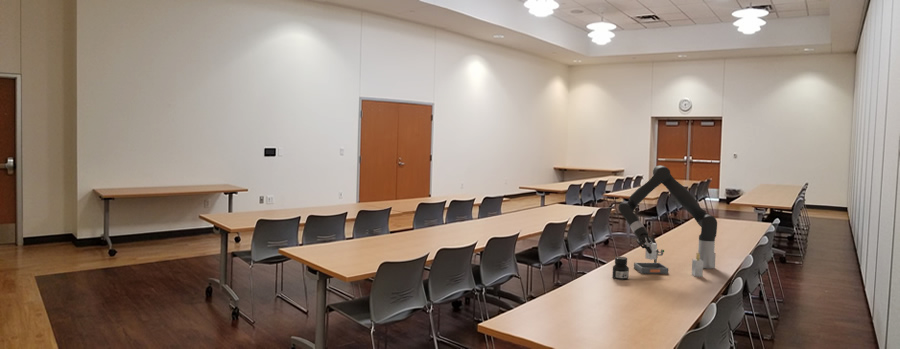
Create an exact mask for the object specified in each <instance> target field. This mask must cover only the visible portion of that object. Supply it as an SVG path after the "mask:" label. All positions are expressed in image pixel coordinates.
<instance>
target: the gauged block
mask: <svg viewBox="0 0 900 349" xmlns="http://www.w3.org/2000/svg"><path fill="white" fill-rule="evenodd" d="M695 255H696V256H695V258H692V261H691V276H692V277H696V278H699V277H700V278H701V277H703V275H704V274H703V273H704V268H703V260H701V259H700V253H698V252H696V254H695Z"/></svg>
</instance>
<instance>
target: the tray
mask: <svg viewBox="0 0 900 349" xmlns="http://www.w3.org/2000/svg"><path fill="white" fill-rule="evenodd" d="M633 269H634V270H635V271H637V272H638V273H640V274H641V275H669V267H667V266H666V265H664V264H662V263H660V262H657V263H654V262H633Z"/></svg>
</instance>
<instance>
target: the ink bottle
mask: <svg viewBox="0 0 900 349" xmlns="http://www.w3.org/2000/svg"><path fill="white" fill-rule="evenodd" d="M629 269H630V267H629V266H628V257H625V256H615V257H614V264H613V265H612V275H611V276H612V278H613V279H615V280H619V281H620V280H622V281H623V280H624V281H625V280H628V279H629V277H630V274H629Z"/></svg>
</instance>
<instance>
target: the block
mask: <svg viewBox="0 0 900 349" xmlns="http://www.w3.org/2000/svg"><path fill="white" fill-rule="evenodd" d="M647 244H648V246H649V248H650V249H651V251H652V253H651V254H649V253H648V252H647V250H646V249H645V256H644V258H645V259H647V260H650V261H654V259H656V256H657V249H658V243H657V242H656V243H651V242H650V243H647Z"/></svg>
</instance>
